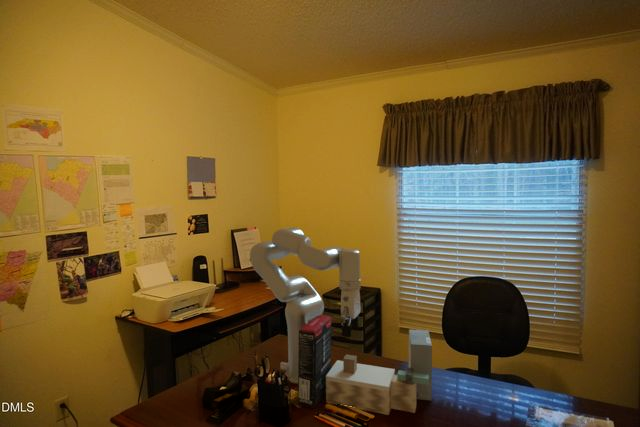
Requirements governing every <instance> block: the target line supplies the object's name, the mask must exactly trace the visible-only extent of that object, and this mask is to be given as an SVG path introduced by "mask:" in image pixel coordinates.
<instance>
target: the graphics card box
mask: <svg viewBox="0 0 640 427" xmlns="http://www.w3.org/2000/svg"><path fill="white" fill-rule="evenodd" d="M331 368H332V316H331V315H322V314H320V315H319V316H316V317H315V318H313V319H310V320H309V321H308V323H307V324H306V325H305V326H303V327H302V328H301V329H299V357H298V384H297V386H298V387H297V389H298V390H297V395H298V396H297V405H298V406H301V407H305V408H311V409H315V408H316V407H317V405H318V404H319V402H320V401H321V399H322V398H323V397H324V396H325V395H326V375H327V374H328V372H329V371H330V370H331Z"/></svg>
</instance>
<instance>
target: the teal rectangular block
mask: <svg viewBox="0 0 640 427" xmlns="http://www.w3.org/2000/svg"><path fill="white" fill-rule="evenodd" d="M406 372H407V370H406V371H405V370H401V369H398V371H397V374H396V375H397V380H401V381H406ZM428 381H429V375H426V374H420V373H414V372H413V375H412V382H413V383H419V384H425V385H428Z"/></svg>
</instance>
